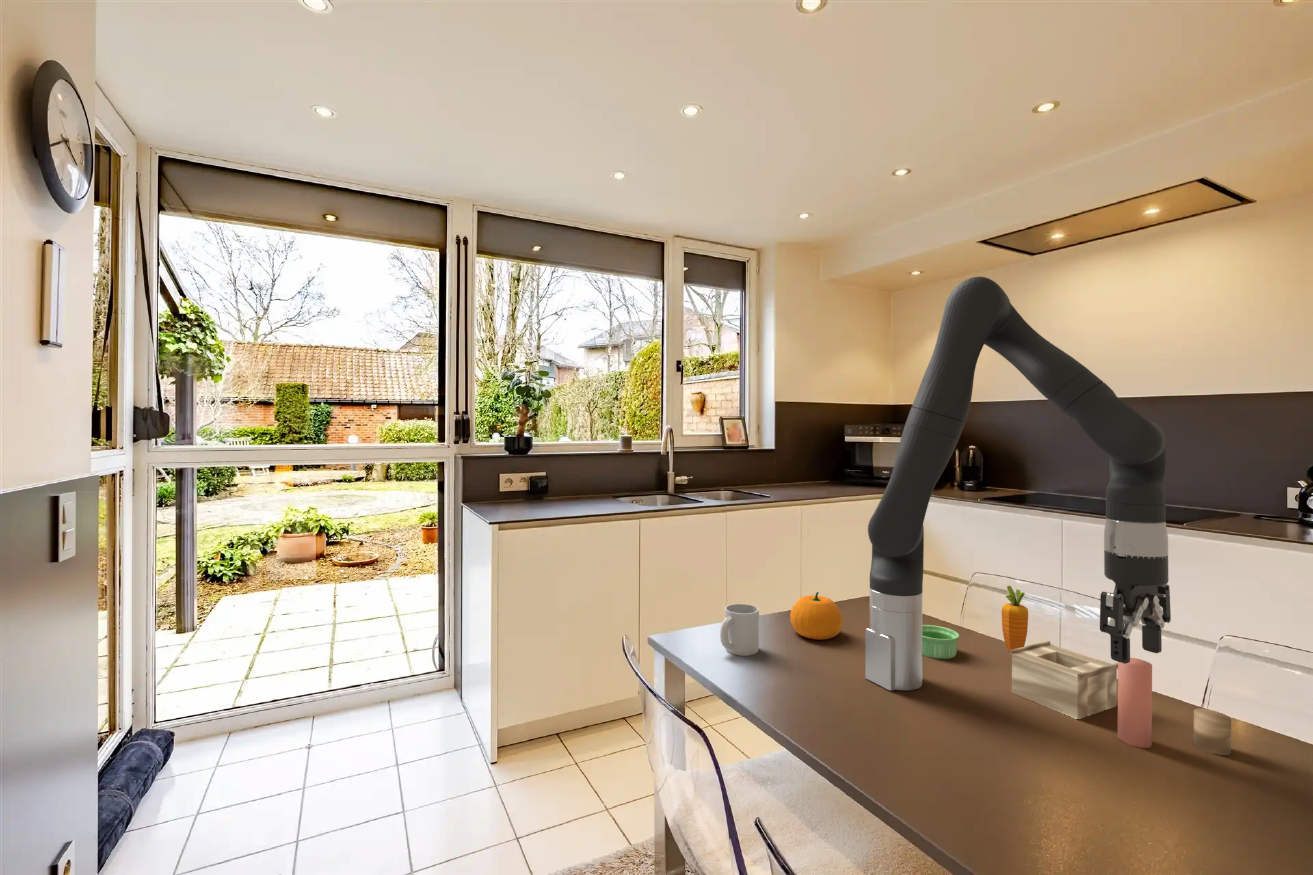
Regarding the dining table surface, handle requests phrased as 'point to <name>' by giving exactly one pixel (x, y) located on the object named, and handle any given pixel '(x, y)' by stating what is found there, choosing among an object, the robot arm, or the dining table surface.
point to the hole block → (1064, 679)
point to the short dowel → (1212, 731)
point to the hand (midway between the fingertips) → (1136, 656)
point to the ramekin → (939, 642)
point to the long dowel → (1135, 703)
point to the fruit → (816, 617)
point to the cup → (740, 629)
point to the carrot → (1014, 621)
